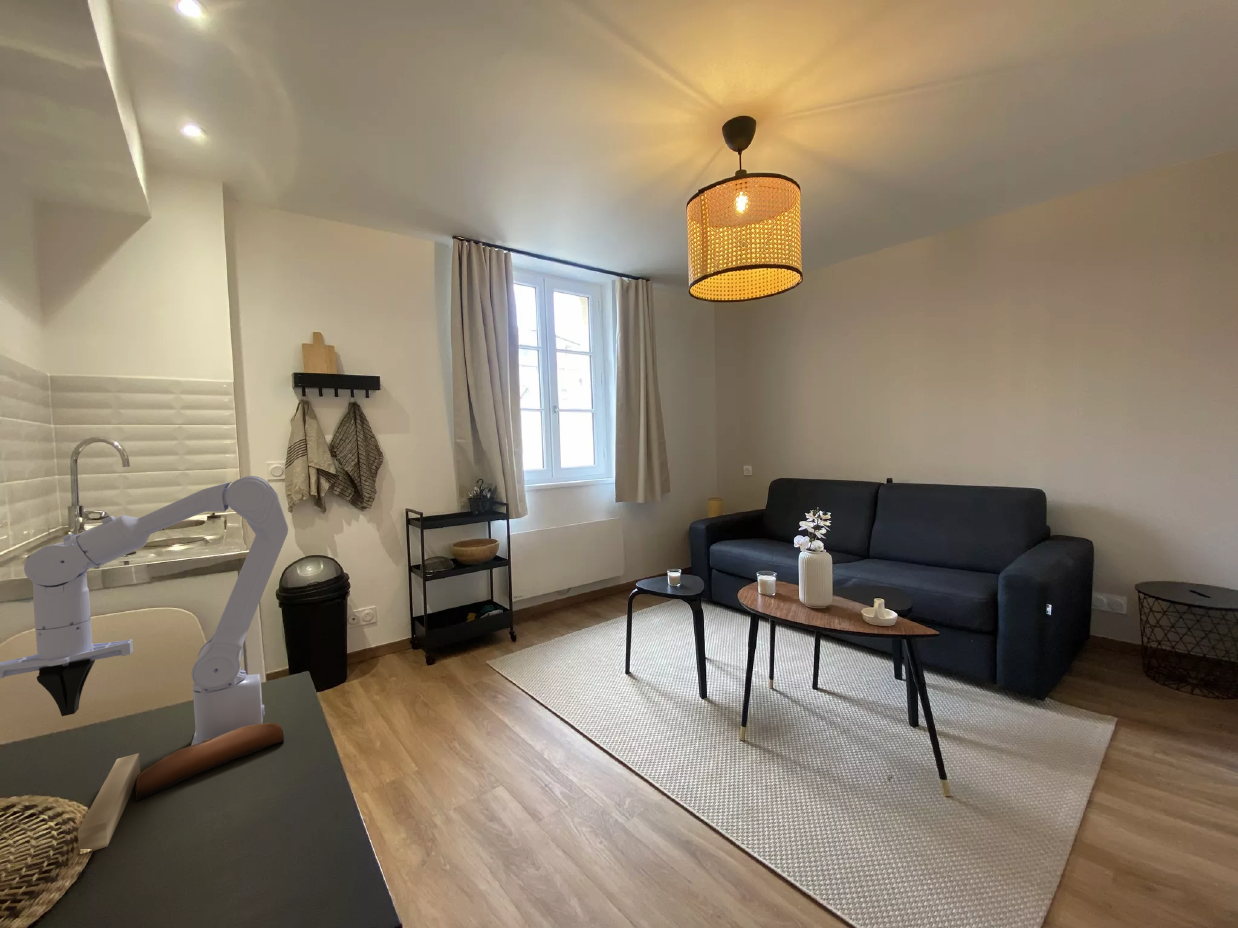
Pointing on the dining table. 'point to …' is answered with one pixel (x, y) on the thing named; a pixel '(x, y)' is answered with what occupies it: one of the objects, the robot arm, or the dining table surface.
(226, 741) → the sunglasses case
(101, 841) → the bar
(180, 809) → the dining table surface
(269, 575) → the robot arm
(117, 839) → the dining table surface
